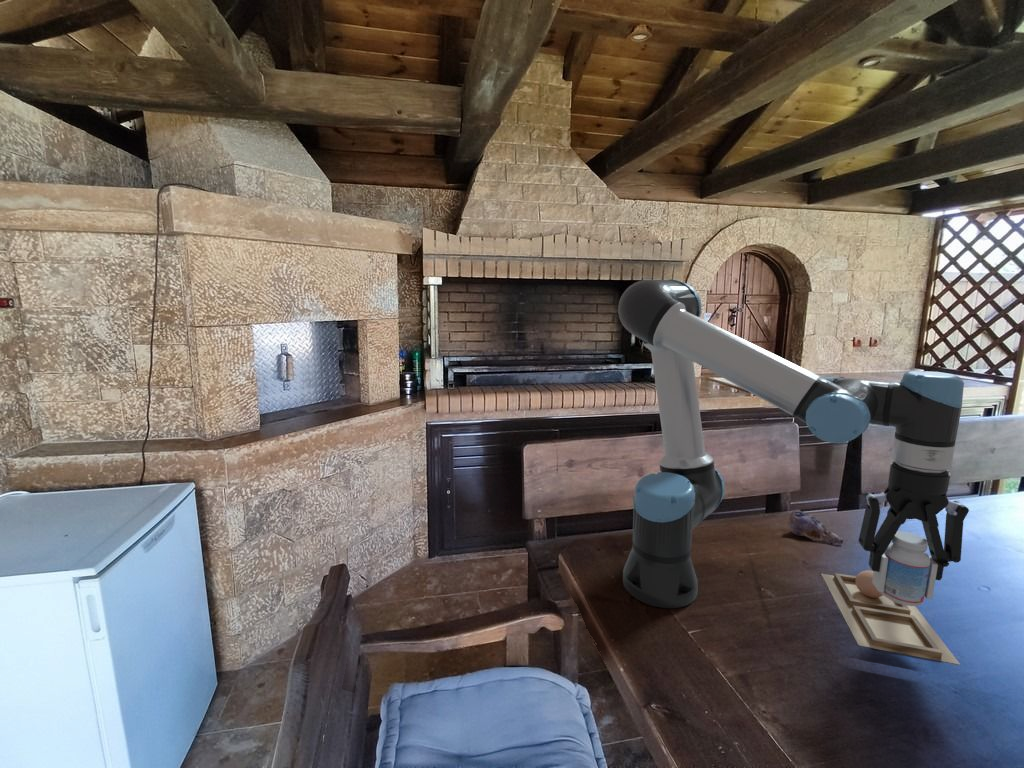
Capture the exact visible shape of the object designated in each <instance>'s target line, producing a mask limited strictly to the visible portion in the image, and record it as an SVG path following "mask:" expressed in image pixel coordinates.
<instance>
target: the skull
mask: <svg viewBox="0 0 1024 768" xmlns="http://www.w3.org/2000/svg"><path fill="white" fill-rule="evenodd" d="M787 526H788V529H789V530H790V532H792V533H793V534H794V535H797V536H799V537H800V536H804V537H807V538H808V539H810V540H812V541H813V542H815V543H817V544H818V543H819V544H827V545H830V544H831V545H833V546H836V545H837V546H841V545H843V542H844V538H843V537H842V536H839V534H838V535H837V534H836V533H834V532H832V531H831V530H829V529H828V528H827V527H826V526H825V525H824V524H823V522H821V521H819V519H818V518H817V517H815V516H814V515H812V514H810V513H806V512H804V511H801V510H793V511H792V512H791V513H790V514H789V516H788V523H787Z"/></svg>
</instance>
